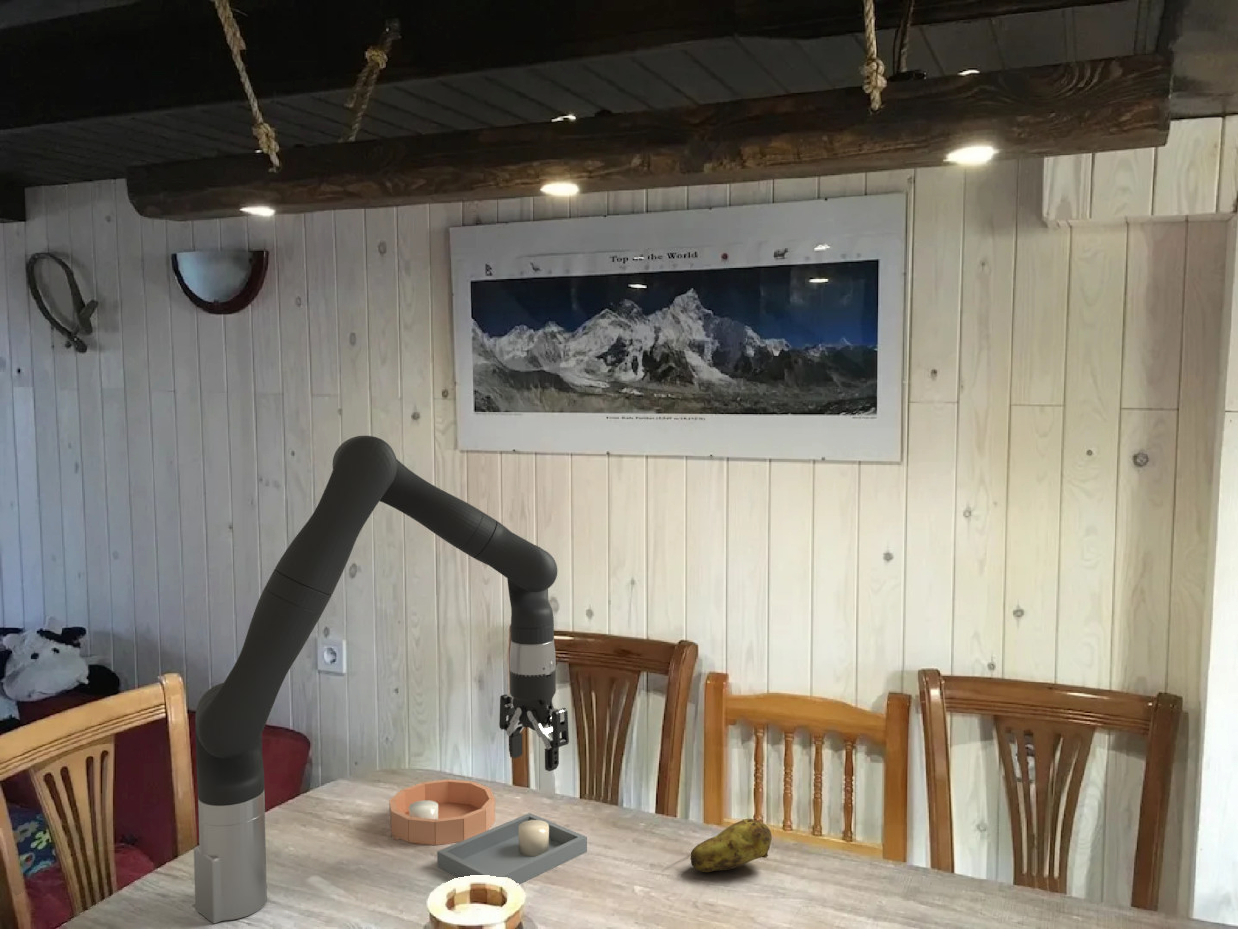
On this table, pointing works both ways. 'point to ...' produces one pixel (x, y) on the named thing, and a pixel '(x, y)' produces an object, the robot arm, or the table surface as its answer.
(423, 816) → the pebble
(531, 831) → the pebble
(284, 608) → the robot arm
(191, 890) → the table surface
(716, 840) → the potato
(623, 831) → the table surface
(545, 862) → the tray
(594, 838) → the table surface
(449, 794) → the bowl
